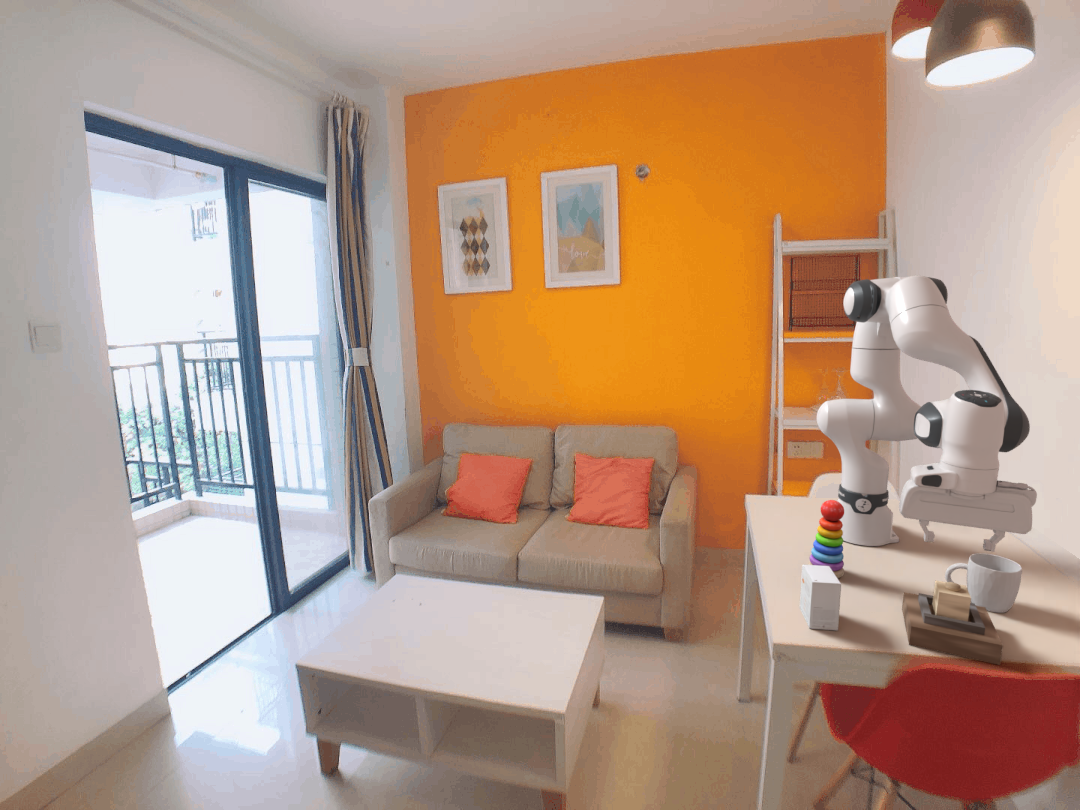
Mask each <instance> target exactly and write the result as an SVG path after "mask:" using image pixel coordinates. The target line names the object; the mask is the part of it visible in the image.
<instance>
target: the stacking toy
mask: <svg viewBox="0 0 1080 810" xmlns="http://www.w3.org/2000/svg"><path fill="white" fill-rule="evenodd" d="M820 513H821V516H822V517H820V519H819V521H818V524H819V525H818V526H817V528H816V529H817V533H816V534H815V540H814V541H813V544H812V545H813V547H812V548H811V551H810V553H811V554H810V555H809V561H808V563H807V565H819V566H829V567H830V568H831V570H832V571H833V573H834V574H835V575H836V577H837V578H838V579H840V578H842V577H843V576H844V574H845V570H844V566H845V562H844V553H843V551H844V546H843V544H844V541H843V538H842V535H843V531H842V529H841V528H842V526H843V524H842V522H841V521H840V519H841V518H842V517H843V515H844V507H843V506H842V504H841V503H839V502H838V501H837V500H834V499H828V500H826V501H824V502H822V504H821V506H820Z"/></svg>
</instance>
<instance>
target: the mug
mask: <svg viewBox="0 0 1080 810" xmlns="http://www.w3.org/2000/svg"><path fill="white" fill-rule="evenodd" d="M960 569H962V570H966V587H967V589H968V592H969V594H970V596H971V602H970V603H975V605H976V606H981V607H985V608H986V610H987V612H993V613H999V614H1001V613H1007V612H1008V611H1009V610H1010V609H1012V607H1013V605H1014V603H1015V601H1016V599H1017V596H1018V594H1019V590H1020V586H1021V582H1022V576H1023V575H1022V574H1023V568H1022V566H1021V565H1020V564H1019V563H1018V562H1016V561H1014V560H1012V559H1009V558H1007V557H1003V556H1000V555H997V554H991V553H985V552H983V553H982V552H981V553H979V552H978V553H973V554H970V556H969V558H968V561H967V563H964V562H957V563H953V564H951V565H950V566H948V567H947V569H946V570H945V572H944V573H945V574H944V575H945V576H944V578H945V580H946V581H945V582H954V581H953V580H952V576H951V575H952V573H953V572H954V571H956V570H960Z"/></svg>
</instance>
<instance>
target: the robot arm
mask: <svg viewBox="0 0 1080 810" xmlns="http://www.w3.org/2000/svg"><path fill="white" fill-rule="evenodd" d="M948 295H949V294H948V289H947V286H946V285H945V283H944V281H943V280H941V279H939V278H934V277H930V276H929V277H928V276H924V275H916V274H915V275H910V276H894V277H885V278H875V279H869V278H866V279H861V280H857V281H854V282H852V283H851V284H849V286H848V287H847V289H846V290H845V294H844V296H843V301H842V302H843V304H842V305H843V310H844V314H845V316H846V317H847V319H848V320H850V321H853V322H856V324H855V328H854V332H853V335H852V336H853V337H852V344H851V345H852V346H851V355H850V357H851V358H850V370H849V371H850V372H849V373H850V376H851V378H852V379H853V381H854V382H856V383H858V384H860V385H861V386H863V387H865V388H867V389H869V390H871V391H872V392H873V398H869V399H867V398H864V399H863V398H836V399H831V400H826V401H824V402H823V403H822V404H821V405H820V407H819V408H818V410H817V412H816V418H815V419H816V423H817V427H818V429H819V430H820V431H821V433H823V434H824V436H826V437H827V438H829V439H830V440H831V441H832V442H833V444H834V445H835V446H836V448H837V450H838V452H839V454H840V459H841V460H840V461H841V482H840V484H839V487H838V490H837V491H838V494H837V495H838V496H837V497H838V499H837V500H836V501H838V502H839V503H841V504H842V506H843V507H844V515H843V517H842V518H841V519H840V521H841V522H842V524H843V526H842V528H841V529H842V531H843V535H842V538H843V542H846V543H849V544H855V545H860V546H866V547H867V546H868V547H880V546H884V545H887V544H892V543H894V544H895V543H899V542H900V537H899V536H898V535H897V534H896V533H895V531H894V530H893V521H894V512H893V511H892V510H891V509H890V508H889V506H888V504H889V499H890V498H889V492H890V491H889V490H888V485H889V482H888V481H889V472H890V465H889V462H888V460H887V459H886V458H885V457H884V456H882V455H881V454H879V453H878V452H876V451H874V450H872V449H869V448H868V447H866V441H885V442H886V441H887V442H903V441H911V440H912V441H913V440H919V441H920V442H921V443H922V444H923V445H924V446H927V447H930V448H933V449H934V448H935V449H940V450H941V451H942V453H941V455H940V458H939V462H933V463H927V464H925V463H924V464H918V465H914V466H912V467H911V469H910V478H909V479H908V480H907V481H906V482H905V483H904V485H903V488H902V490H901V494H900V499H899V504H898V510H899V511H898V512H899V513H900V515H901V516H902V517H903V518H905V519H910V520H918V523H919V525H920V527H921V530H922V531H923V540H924V542H927V543H933V544H934V542H935V532H934V531H933V530H929V529H928V527H929V526H930V522H933V523H940V524H947V525H955V526H963V527H969V528H978V529H982V530H983V529H984V530H992V532H993V533H994V534H992V536H991V537H990V538H983V544H982V548H983V550H984V551H986V552H987V551H988V552H991V553H993V552H995V551H996V545H997V544H998V543H1000V541H1002V540H1003V539H1004V538H1005V537H1006V535H1005V534H1006V533H1013V534H1020V535H1021V534H1022V535H1026V534H1028V533H1029V532H1030V531H1031V530H1032V528H1033V509H1032V508H1033V507H1034V505H1035V504H1036V502H1037V499H1038V493H1037V491H1036V489H1035V488H1033V487H1032V486H1029V485H1028V484H1027V483H1025V482H1018V483H1017V482H1011V481H1008V480H1007V481H1005V480H998V477H999V470H1000V460H999V453H1009V452H1012V451H1013V450H1014V449H1017V447H1019V446H1020V445H1022V443H1024V441H1026V439H1027V438H1028V436H1029V433H1030V427H1031V426H1030V425H1031V424H1030V419H1029V418H1028V416H1027V414H1026V412H1025V411H1024V409H1023V408H1022V407H1021V406H1020V405H1019V403H1017V401H1016V400H1015V399H1014V398H1013V397H1012V394H1011V393H1010V392H1009V390H1008V389H1007V386H1006V385H1005V383H1004V382H1003V380H1002V378H1001V376H1000V374H999V373H998V371H997V370H996V368H995V366H994V364H993V362H992V361H991V359H990V357H989V356H988V354H987V352H986V351H985V349H984V347H983V346H982V345H981V344H980V341H978V340H977V338H974V337H973V336H971V335H969V334H968V333H966V332H965V331H963V330H962V328H960V326H959V325H958V324H957V323H956V322H955V321H954V319H953V317H952V316H951V314H950V312H949V308H948V305H947V304H948V297H949V296H948ZM901 352H902V353H904V354H905V355H906V356H909V357H911V358H913V359H916V360H918V361H923V362H927V363H933V364H937V365H938V366H941V367H946V368H948V369H950V370H952V371H954V372H956V373H957V374H959V375H960V376H961V377H962V378H963V379H964V381H965V383H966V385H967V387H968V388H969V389H963V390H962V389H961V390H958V391H955V392H954V393H952V394H951V395H950V397H948V398H946V399H942V400H933V401H928V402H926V403H924V404H923V405H922V406H921V405H920V404H918V403H917V402H915V401H914V400H913V399H912V398H911V397H910V396H909V395H908V394H907V392H906V390H905V389H904V387H903V384H902V382H901V376H900V362H901V361H900V359H901V357H900V356H901Z"/></svg>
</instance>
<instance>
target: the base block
mask: <svg viewBox="0 0 1080 810" xmlns="http://www.w3.org/2000/svg"><path fill="white" fill-rule="evenodd" d="M902 596H903V597H902V606H901V607H902V608H901V611H902V616H903V617H902V618H903V621H904V626H905V631H906V635H907V636H906V637H907V641H908V646H909V645H910V646H915V647H918V648H923V649H927V650H931V651H935V652H936V651H937V652H941V653H943V654H944V653H945V654H948V655H949V654H950V655H954V656H959V657H963V658H968V659H972V660H976V661H981V662H986V663H989V664H995V665H999V666H1000V665H1001V661H1002V654H1003V648H1004V645H1003V642H1002V640H1001V637H1000V636H999V633H998V632H997V630H996V627H995V625H994V623H993V621H992V618H991V617H990V614H989V611H987V610H986V608H985V607H981V606H976V605H975V603H972V602H970V609H969V617H968V621H963V620H958V619H953V618H948V617H943V616H938V615H934V612H933V609H932V603H933V595H931V594H925V593H921V592H918V594H917V593H911V592H906V591H905V592H904V591H903V595H902Z"/></svg>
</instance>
